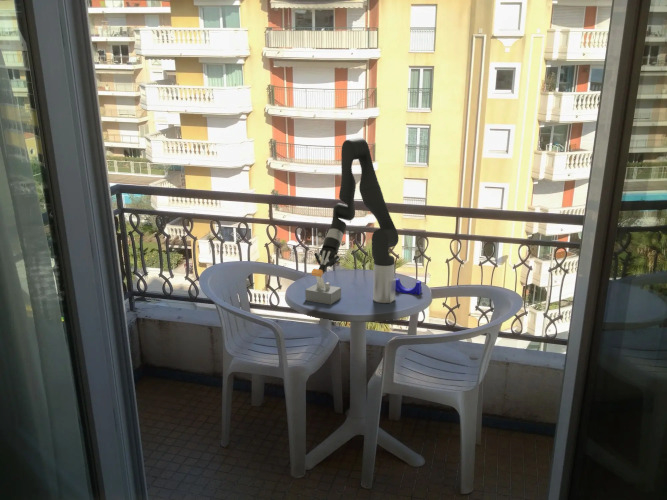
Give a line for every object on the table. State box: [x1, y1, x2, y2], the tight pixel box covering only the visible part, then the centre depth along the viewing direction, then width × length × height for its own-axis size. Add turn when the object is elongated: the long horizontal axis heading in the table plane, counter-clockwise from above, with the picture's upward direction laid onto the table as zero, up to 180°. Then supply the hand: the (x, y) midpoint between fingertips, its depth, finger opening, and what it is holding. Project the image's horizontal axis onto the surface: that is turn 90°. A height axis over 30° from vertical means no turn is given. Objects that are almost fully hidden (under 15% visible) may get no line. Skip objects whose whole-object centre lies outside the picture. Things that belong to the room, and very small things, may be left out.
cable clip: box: [394, 277, 423, 296], centre depth 280 cm, size 12×4×6 cm, turn 65°
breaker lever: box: [311, 268, 325, 289], centre depth 265 cm, size 4×2×10 cm
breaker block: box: [304, 281, 342, 305], centre depth 269 cm, size 13×10×8 cm
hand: (320, 273), depth 265 cm, fingers closed
